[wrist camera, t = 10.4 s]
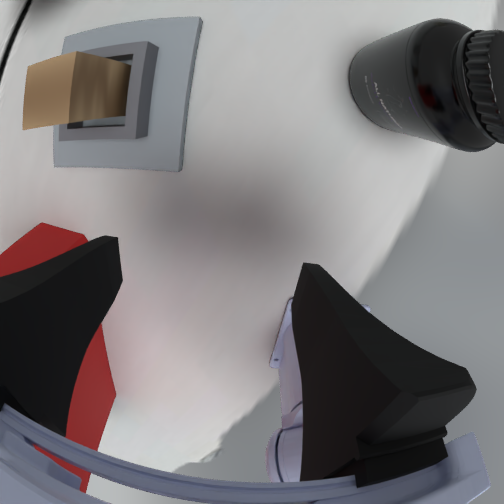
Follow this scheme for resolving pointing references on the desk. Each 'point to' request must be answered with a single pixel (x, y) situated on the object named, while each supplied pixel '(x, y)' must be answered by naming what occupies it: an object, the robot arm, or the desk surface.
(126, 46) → the stand
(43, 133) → the desk surface
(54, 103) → the oak peg
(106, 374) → the book
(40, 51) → the desk surface
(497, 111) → the supplement bottle
